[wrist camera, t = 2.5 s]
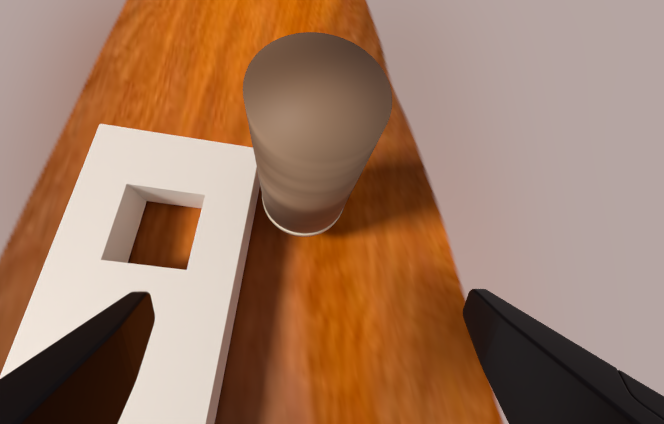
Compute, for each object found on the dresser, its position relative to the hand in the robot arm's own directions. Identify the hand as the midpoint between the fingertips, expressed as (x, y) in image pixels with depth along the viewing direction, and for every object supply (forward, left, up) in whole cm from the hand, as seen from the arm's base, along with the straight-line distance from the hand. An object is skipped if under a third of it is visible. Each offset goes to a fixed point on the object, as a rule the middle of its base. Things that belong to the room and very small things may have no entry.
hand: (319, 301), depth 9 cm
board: (+3, +9, -13) cm, 16 cm away
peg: (+7, -2, -13) cm, 15 cm away
